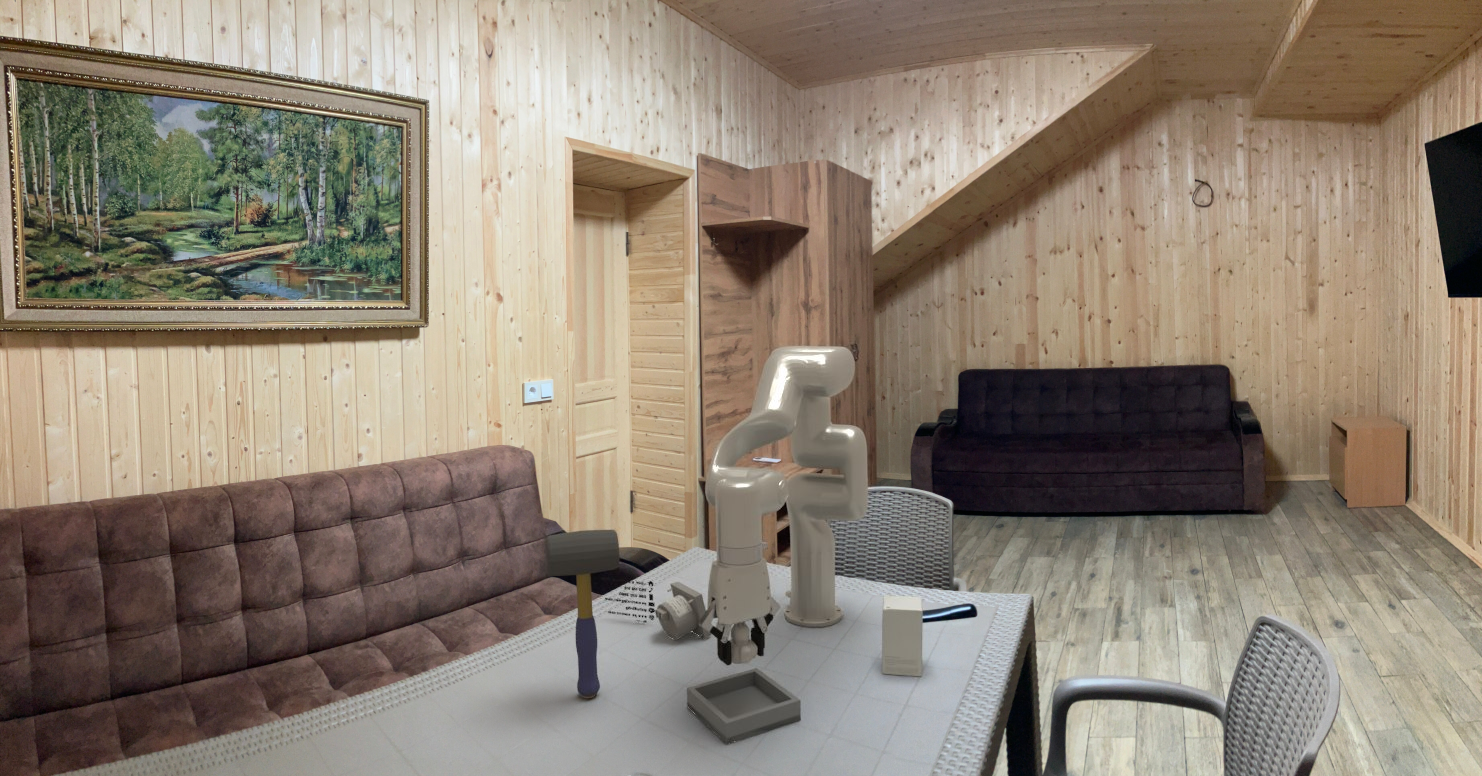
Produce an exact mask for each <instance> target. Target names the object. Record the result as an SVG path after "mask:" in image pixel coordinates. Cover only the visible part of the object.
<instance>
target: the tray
mask: <svg viewBox="0 0 1482 776" xmlns="http://www.w3.org/2000/svg"><path fill="white" fill-rule="evenodd" d="M801 705H802V703H801V699H800V698H798V697H797V696H795V695H794V694H793V693H791V692H790V691H788V689H786V688H785V687H783V686H782V685H780V684H779V683H778V682H777V681H775V680H774V679H772V678H771V677H770V676H768V675H767V674H766V673H764V672H763V671H762V670H760V669H759V668H758V667H755V668H752V669H748V670H744V671H741V672H740V671H739V672H737V673H733V674H730V675H727V676H722V677H720V678H716V679H713V680H712V679H711V680H709V681H706V682H701V683H698V684H694V685H691V686H688V687H686V707H687V706H688V707H689V708H690V709H691V710H692V711H693V712H694V713H695V714H696V715H697V716H698V717H699V718H700V719H701V720H702V721H701V720H700V719H699V718H698V717H697V716H696V715H695V714H694V713H693V712H692V711H691V710H690V709H689V708H688V707H687V708H688V709H689V710H690V711H691V712H692V713H693V714H694V715H695V716H696V717H697V718H698V719H699V720H700V721H701V722H702V723H704V724H705V726H706V727H707V728H709V729H710V730H711V731H712V732H713V731H714V732H715V733H716V734H717V735H718V736H719V737H720V738H719V737H718V738H719V739H720V740H722V741H723V742H724V743H725V744H726V745H729V743H730V744H732V742H733V743H735V742H734V741H736V742H737V741H738V740H739V741H741V739H742V740H744V739H749V738H751V737H754V736H757V735H760V734H762V733H766V732H768V731H772V730H775V729H778V728H780V727H784V726H788V725H790V724H793V723H796V722H800V721H801V720H802V718H801V717H802V716H801V715H802V714H801V709H802V708H801ZM714 732H713V733H714ZM715 733H714V734H715ZM716 734H715V735H716ZM717 735H716V736H717ZM739 741H738V742H739Z"/></svg>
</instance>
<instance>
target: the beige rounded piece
mask: <svg viewBox="0 0 1482 776" xmlns="http://www.w3.org/2000/svg"><path fill="white" fill-rule="evenodd" d="M730 637H731V639H728V640H729V641H730V642H731V653H732V663H733V664H736V665H737V664H738V665H743V664H748V663H750V662H751V661H752V660H753V659H755V658H756V657H757V656H758V655H757V650H758V648H757V645H756V644H755V643H754V642H753V641H751V638H750V628H749V626H748V625H747V623H746V621H745V622H740V623H736V624H733V625H732V627H731V631H730Z"/></svg>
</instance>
